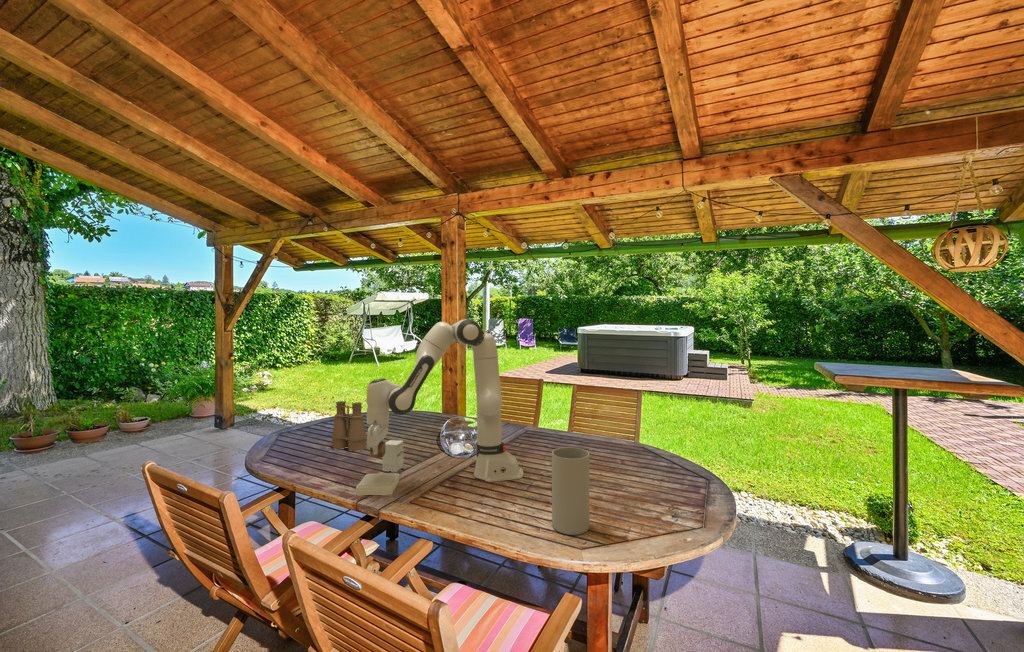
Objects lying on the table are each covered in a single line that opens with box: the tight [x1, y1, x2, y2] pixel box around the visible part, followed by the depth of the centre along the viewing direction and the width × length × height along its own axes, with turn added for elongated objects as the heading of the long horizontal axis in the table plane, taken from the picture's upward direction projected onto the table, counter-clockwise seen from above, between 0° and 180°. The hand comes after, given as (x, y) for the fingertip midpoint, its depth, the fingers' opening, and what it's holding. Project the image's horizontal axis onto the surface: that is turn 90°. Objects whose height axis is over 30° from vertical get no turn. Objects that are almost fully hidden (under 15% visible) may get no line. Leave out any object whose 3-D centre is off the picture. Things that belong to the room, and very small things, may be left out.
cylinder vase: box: [551, 446, 590, 536], centre depth 142 cm, size 12×12×25 cm
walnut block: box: [369, 441, 386, 458], centre depth 174 cm, size 5×5×5 cm
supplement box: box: [381, 439, 404, 473], centre depth 197 cm, size 7×7×13 cm
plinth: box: [355, 472, 400, 496], centre depth 174 cm, size 14×14×4 cm
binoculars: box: [330, 400, 367, 451], centre depth 229 cm, size 21×10×25 cm, turn 70°
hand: (377, 451), depth 174 cm, fingers closed on walnut block, 5 cm apart
